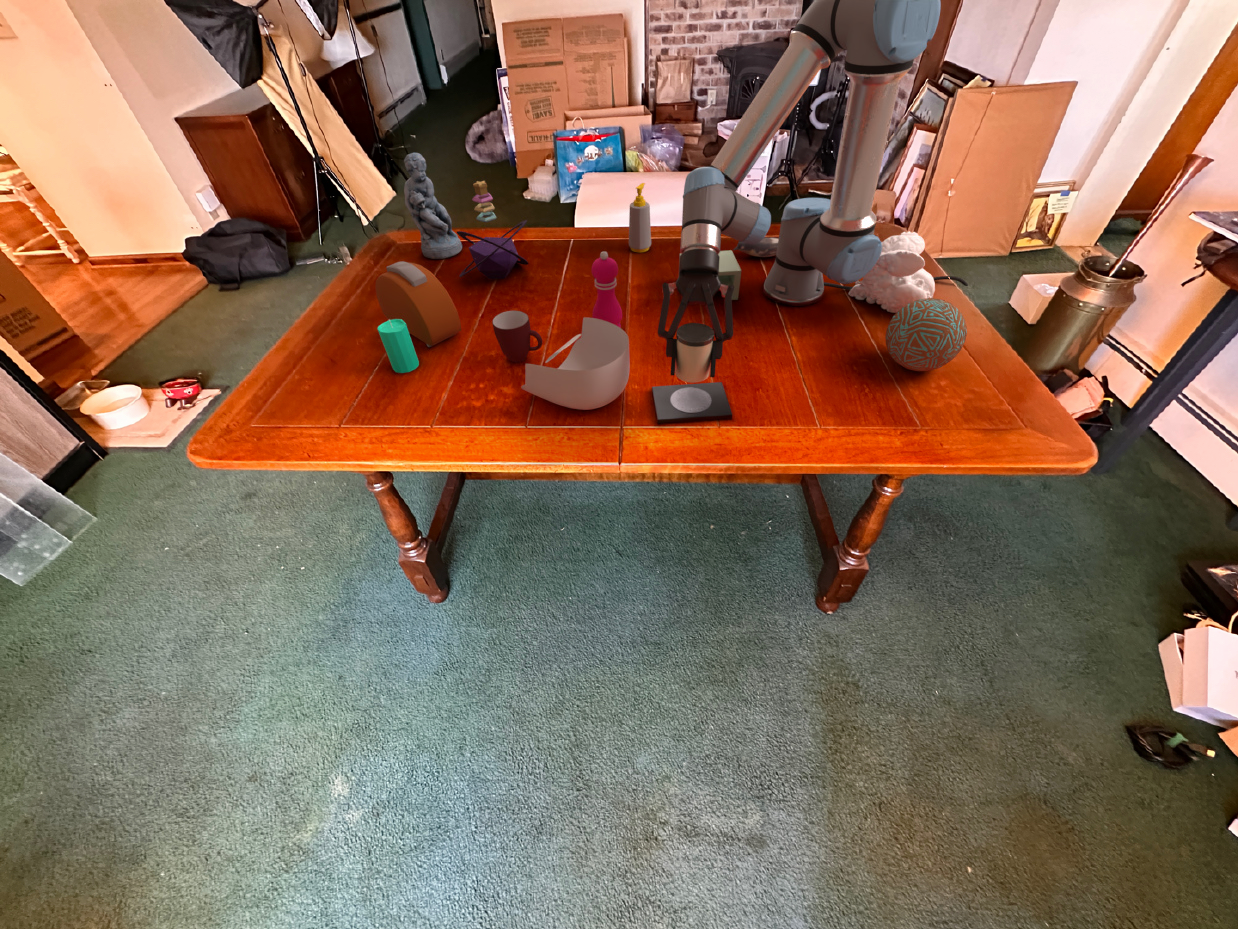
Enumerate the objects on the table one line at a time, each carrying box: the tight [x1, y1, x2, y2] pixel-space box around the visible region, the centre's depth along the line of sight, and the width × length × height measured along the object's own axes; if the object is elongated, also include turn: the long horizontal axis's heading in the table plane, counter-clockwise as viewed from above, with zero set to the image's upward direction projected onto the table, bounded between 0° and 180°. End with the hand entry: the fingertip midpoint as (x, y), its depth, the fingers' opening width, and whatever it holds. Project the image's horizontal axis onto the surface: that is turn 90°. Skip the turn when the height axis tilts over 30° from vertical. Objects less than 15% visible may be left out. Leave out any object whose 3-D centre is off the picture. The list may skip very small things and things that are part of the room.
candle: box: [376, 319, 420, 374], centre depth 125 cm, size 6×6×12 cm
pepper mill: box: [591, 250, 623, 329], centre depth 130 cm, size 7×7×20 cm
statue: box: [403, 152, 463, 260], centre depth 164 cm, size 12×23×27 cm, turn 71°
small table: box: [678, 249, 742, 301], centre depth 147 cm, size 14×12×8 cm
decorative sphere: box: [885, 297, 968, 372], centre depth 117 cm, size 15×15×15 cm
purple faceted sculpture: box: [456, 180, 530, 280], centre depth 152 cm, size 22×21×25 cm
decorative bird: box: [732, 236, 779, 258], centre depth 161 cm, size 6×25×5 cm, turn 81°
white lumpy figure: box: [847, 230, 936, 314], centre depth 138 cm, size 19×20×20 cm
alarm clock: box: [375, 261, 463, 348], centre depth 134 cm, size 23×9×17 cm, turn 47°
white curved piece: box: [520, 316, 631, 411], centre depth 116 cm, size 20×19×12 cm
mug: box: [491, 310, 543, 363], centre depth 126 cm, size 10×8×10 cm
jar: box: [675, 322, 715, 384], centre depth 106 cm, size 7×7×9 cm
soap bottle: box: [628, 182, 652, 253], centre depth 163 cm, size 7×7×18 cm
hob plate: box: [651, 381, 733, 425], centre depth 115 cm, size 15×11×1 cm
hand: (692, 374), depth 106 cm, fingers closed on jar, 7 cm apart
